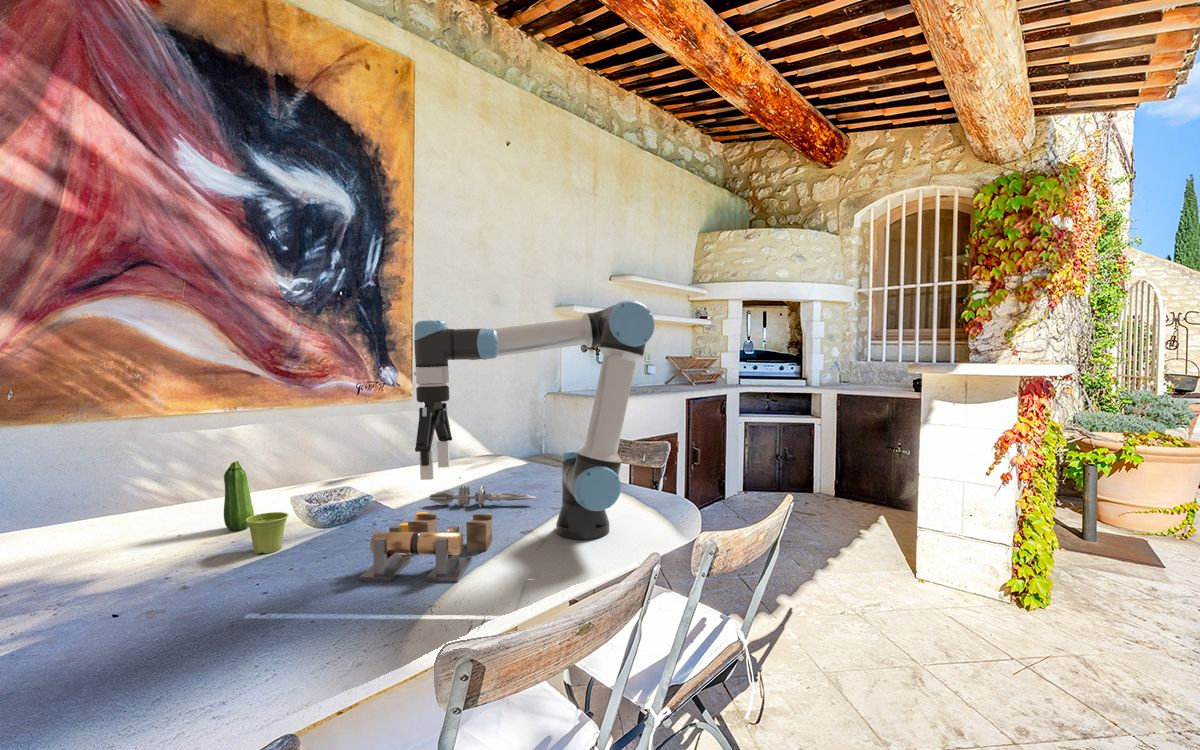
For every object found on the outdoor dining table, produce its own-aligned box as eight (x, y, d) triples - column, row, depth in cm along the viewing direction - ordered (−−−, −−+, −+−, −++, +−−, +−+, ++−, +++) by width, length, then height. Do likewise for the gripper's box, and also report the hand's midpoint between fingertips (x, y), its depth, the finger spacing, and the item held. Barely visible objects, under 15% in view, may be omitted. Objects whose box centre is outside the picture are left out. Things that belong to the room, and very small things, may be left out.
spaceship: (534, 512, 172) (534, 487, 172) (426, 512, 172) (425, 488, 172) (537, 505, 180) (537, 482, 180) (433, 505, 180) (433, 482, 180)
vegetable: (241, 534, 151) (240, 463, 150) (217, 533, 151) (215, 463, 151) (259, 526, 158) (258, 459, 157) (236, 525, 158) (235, 458, 158)
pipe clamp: (412, 534, 151) (412, 511, 151) (427, 534, 151) (427, 512, 150) (393, 549, 139) (392, 525, 139) (409, 549, 139) (408, 525, 138)
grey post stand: (471, 561, 130) (471, 524, 130) (457, 581, 118) (457, 541, 118) (382, 560, 130) (382, 524, 130) (359, 581, 118) (358, 541, 118)
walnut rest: (492, 542, 144) (492, 513, 144) (485, 552, 136) (485, 522, 136) (419, 541, 144) (418, 513, 144) (408, 551, 137) (408, 522, 136)
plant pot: (278, 541, 145) (278, 509, 144) (295, 548, 139) (295, 515, 139) (240, 551, 137) (239, 518, 137) (256, 559, 132) (255, 524, 131)
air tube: (463, 550, 126) (463, 529, 126) (457, 558, 121) (456, 536, 121) (380, 549, 127) (379, 528, 127) (370, 558, 122) (369, 536, 122)
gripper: (432, 383, 140) (435, 463, 141) (397, 388, 116) (401, 485, 116) (461, 382, 140) (464, 462, 141) (432, 387, 116) (435, 484, 116)
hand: (435, 473), depth 129 cm, fingers open, 13 cm apart
